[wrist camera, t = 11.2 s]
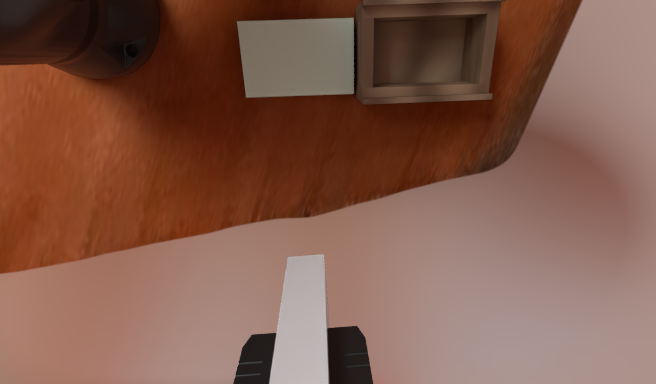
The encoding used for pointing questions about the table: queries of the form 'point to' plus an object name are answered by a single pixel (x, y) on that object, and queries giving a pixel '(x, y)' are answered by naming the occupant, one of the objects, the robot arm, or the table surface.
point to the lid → (297, 57)
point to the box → (425, 50)
